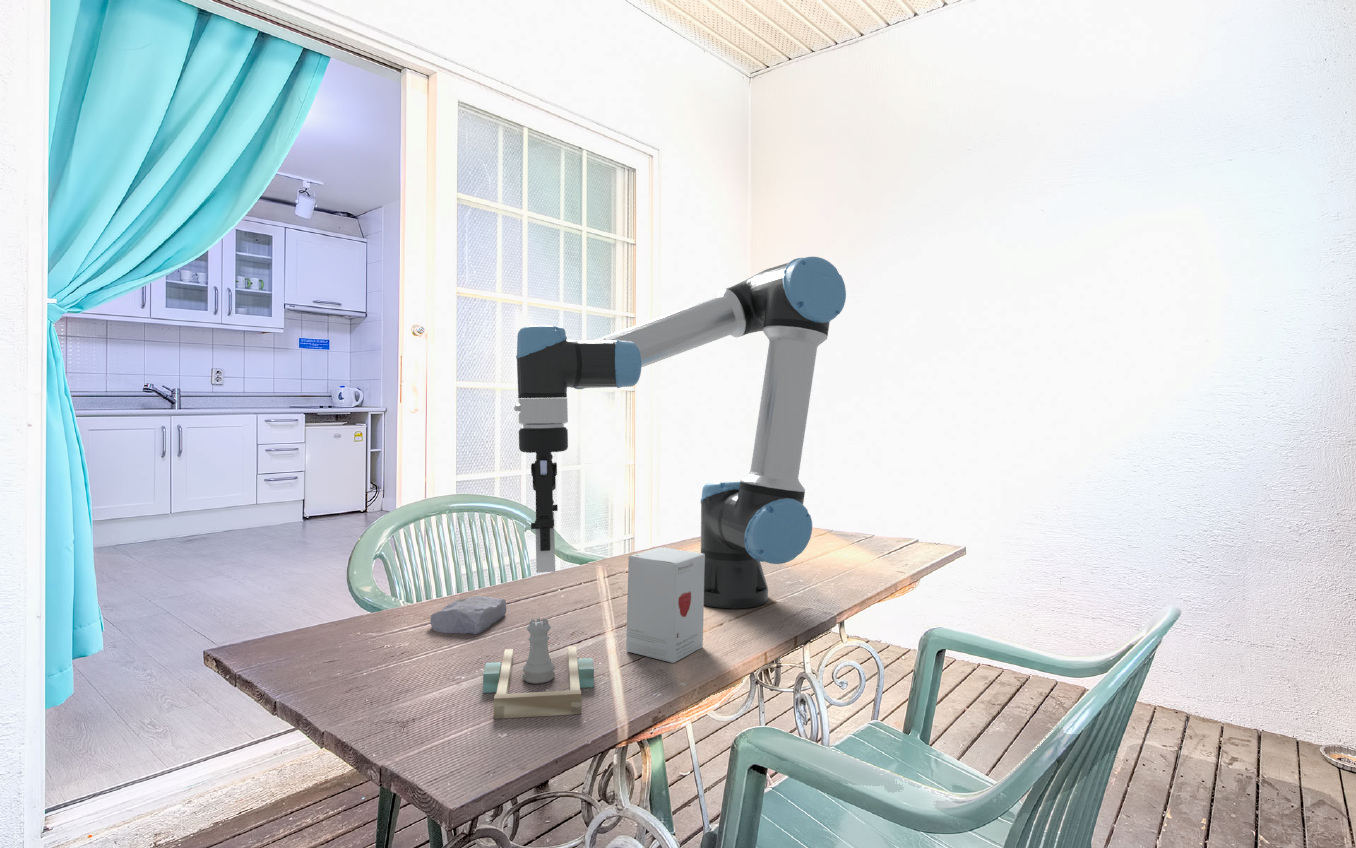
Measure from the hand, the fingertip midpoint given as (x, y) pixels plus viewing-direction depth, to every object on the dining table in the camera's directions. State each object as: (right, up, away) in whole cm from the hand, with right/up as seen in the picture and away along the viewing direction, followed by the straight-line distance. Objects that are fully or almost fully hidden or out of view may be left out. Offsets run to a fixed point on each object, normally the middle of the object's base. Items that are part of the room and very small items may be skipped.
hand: (546, 561), depth 112 cm
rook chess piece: (+2, -14, -14) cm, 19 cm away
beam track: (+2, -14, -16) cm, 21 cm away
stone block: (-16, -13, +10) cm, 23 cm away
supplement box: (+19, -14, -1) cm, 23 cm away
